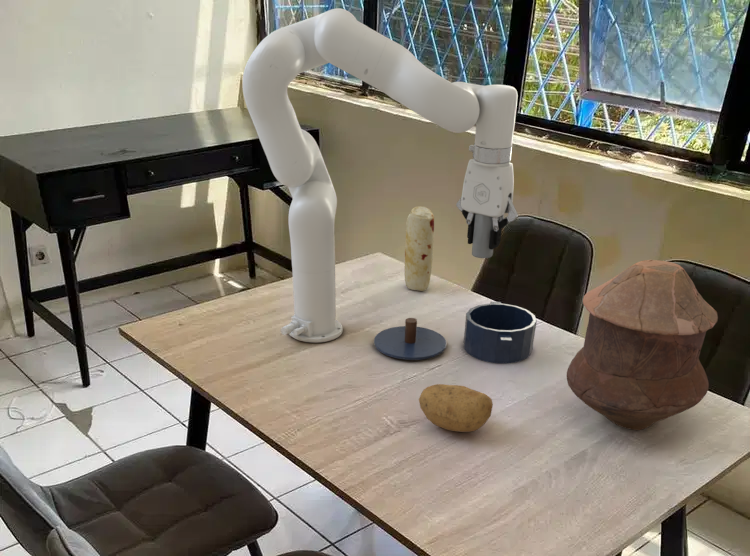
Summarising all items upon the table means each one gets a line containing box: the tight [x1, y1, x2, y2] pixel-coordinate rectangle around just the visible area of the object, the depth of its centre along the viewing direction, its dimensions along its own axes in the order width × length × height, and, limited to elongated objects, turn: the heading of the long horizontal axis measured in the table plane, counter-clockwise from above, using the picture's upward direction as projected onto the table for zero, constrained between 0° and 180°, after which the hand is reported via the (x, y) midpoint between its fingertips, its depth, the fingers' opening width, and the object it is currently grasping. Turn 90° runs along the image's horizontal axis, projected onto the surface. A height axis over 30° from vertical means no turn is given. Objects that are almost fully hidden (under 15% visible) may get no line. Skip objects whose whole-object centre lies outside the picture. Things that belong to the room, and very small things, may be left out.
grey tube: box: [471, 213, 494, 259], centre depth 165 cm, size 4×4×10 cm
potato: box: [418, 383, 494, 433], centre depth 144 cm, size 10×14×8 cm
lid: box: [373, 317, 447, 361], centre depth 173 cm, size 16×16×6 cm
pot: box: [463, 301, 537, 365], centre depth 172 cm, size 15×21×8 cm
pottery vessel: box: [566, 259, 719, 431], centre depth 142 cm, size 26×26×30 cm
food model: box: [404, 205, 435, 292], centre depth 197 cm, size 10×7×20 cm
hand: (483, 244), depth 166 cm, fingers closed on grey tube, 4 cm apart
